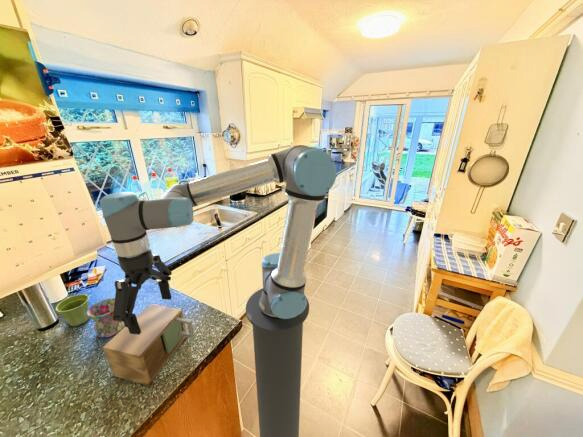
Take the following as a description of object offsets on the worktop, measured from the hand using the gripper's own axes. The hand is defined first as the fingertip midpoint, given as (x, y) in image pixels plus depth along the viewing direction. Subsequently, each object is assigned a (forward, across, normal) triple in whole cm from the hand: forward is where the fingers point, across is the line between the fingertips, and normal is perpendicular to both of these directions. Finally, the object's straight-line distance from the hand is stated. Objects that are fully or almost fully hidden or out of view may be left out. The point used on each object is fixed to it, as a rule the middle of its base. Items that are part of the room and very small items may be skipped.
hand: (152, 314), depth 69 cm
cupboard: (+18, -1, -5) cm, 19 cm away
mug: (+18, -6, -26) cm, 32 cm away
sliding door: (+17, -4, +4) cm, 18 cm away
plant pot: (+18, -10, -42) cm, 47 cm away
